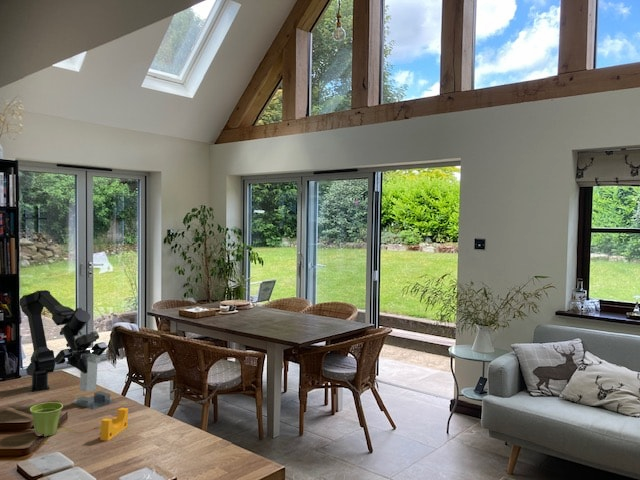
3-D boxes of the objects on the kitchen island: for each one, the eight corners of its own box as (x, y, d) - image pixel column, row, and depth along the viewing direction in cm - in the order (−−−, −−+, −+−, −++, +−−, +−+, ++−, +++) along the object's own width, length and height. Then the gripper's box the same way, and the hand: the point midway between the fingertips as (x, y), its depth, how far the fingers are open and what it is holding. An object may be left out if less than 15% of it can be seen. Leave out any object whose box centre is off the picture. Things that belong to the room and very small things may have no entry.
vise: (71, 405, 189) (71, 396, 189) (94, 398, 198) (94, 389, 198) (92, 412, 183) (93, 402, 183) (115, 404, 192) (115, 395, 192)
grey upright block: (79, 389, 188) (81, 355, 188) (89, 387, 192) (91, 353, 191) (91, 393, 185) (93, 358, 184) (101, 391, 188) (103, 356, 188)
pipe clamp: (115, 425, 173) (116, 407, 173) (127, 427, 172) (128, 408, 172) (95, 439, 161) (96, 419, 161) (107, 441, 160) (108, 421, 160)
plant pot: (51, 440, 158) (53, 413, 158) (22, 438, 158) (23, 411, 158) (67, 428, 168) (68, 403, 167) (39, 427, 168) (40, 401, 168)
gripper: (61, 328, 182) (78, 364, 177) (105, 321, 198) (123, 354, 193) (47, 346, 186) (63, 382, 181) (92, 338, 202) (108, 370, 197)
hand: (91, 371), depth 188 cm, fingers closed on grey upright block, 4 cm apart
